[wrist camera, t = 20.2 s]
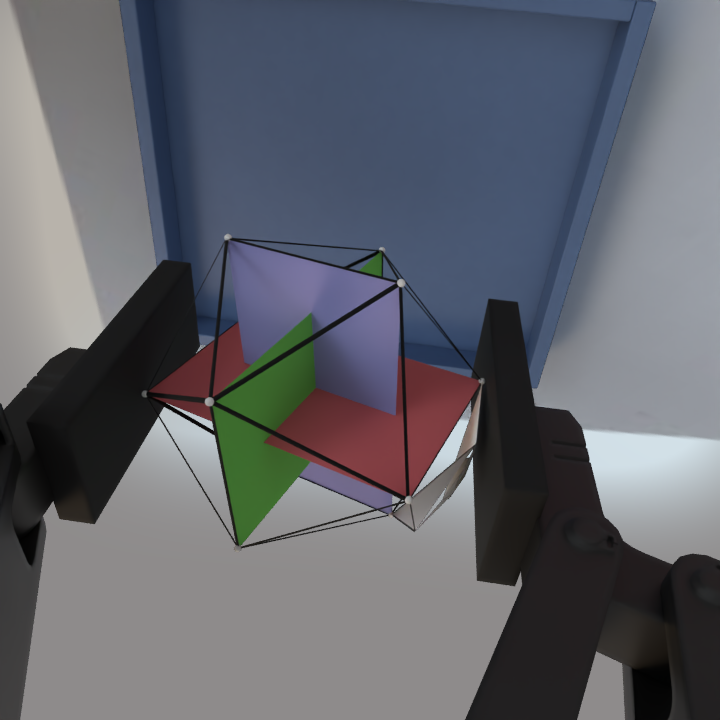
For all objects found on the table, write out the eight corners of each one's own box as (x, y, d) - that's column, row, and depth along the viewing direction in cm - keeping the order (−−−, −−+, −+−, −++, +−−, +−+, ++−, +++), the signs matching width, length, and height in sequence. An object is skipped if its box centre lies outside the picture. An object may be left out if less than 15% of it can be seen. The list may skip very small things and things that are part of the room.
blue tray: (181, 318, 30) (166, 340, 29) (137, -51, 21) (111, -49, 20) (532, 363, 29) (537, 389, 28) (641, -5, 20) (657, 2, 19)
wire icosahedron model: (148, 443, 18) (250, 689, 12) (83, 221, 14) (194, 436, 8) (362, 368, 21) (526, 539, 15) (362, 165, 17) (586, 296, 11)
